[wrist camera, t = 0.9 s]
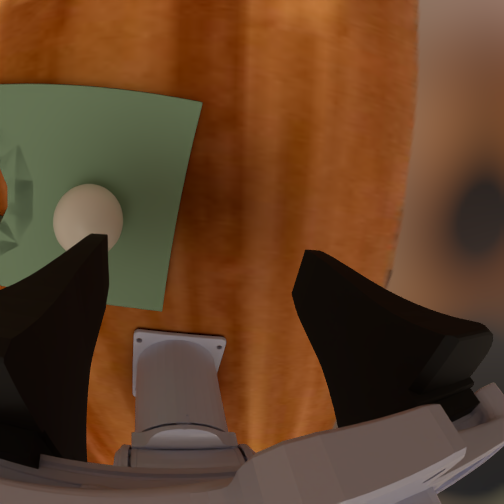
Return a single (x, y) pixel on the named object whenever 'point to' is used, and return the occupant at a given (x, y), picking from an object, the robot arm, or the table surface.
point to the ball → (87, 215)
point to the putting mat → (94, 177)
